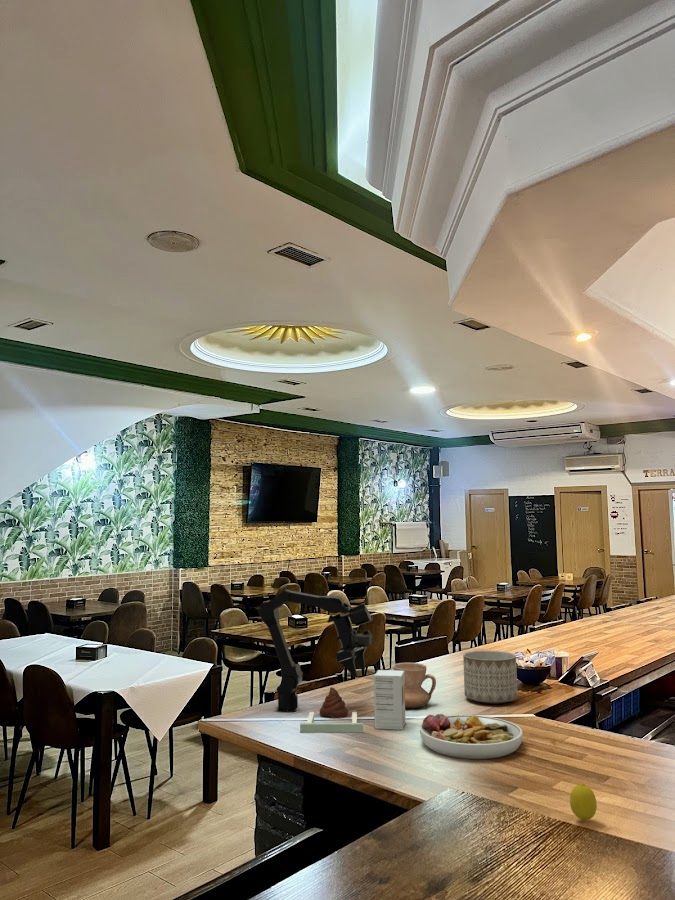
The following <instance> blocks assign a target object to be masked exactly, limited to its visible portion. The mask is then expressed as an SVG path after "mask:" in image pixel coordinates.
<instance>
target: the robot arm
mask: <svg viewBox="0 0 675 900" xmlns="http://www.w3.org/2000/svg"><path fill="white" fill-rule="evenodd" d="M287 602H288V603H294V604H300V605H305V606H311V607H315V608H318V609H321V610H322V611H326V612H327V613H330V614H329V617H328V620H327V623H331V622H332V623H333V624H334V627H335V630H336V634H337V636H336V639H337V641H338V640H339V642H340V644H341V647H340V650H339V651H338V652H337V653H336V654H335V656H334V657H335V660H336V662H337V663H339V664H341V665H342V666H343V667H344V668H345V669H346V670H347V671H348V672H349V673H350V674H351V676H353V678H357V677H358V673H357V668H356V664H357V665H358V667H359V668H360V669H361V671H365V670H366V662H365V652H366V650H367V648H368V647H369V646H370V645H372V643H373V638H374V636H373V634H372V633H371V631H370V630H369V629H368V630H367V629H365V630H364V631H363V632H361V633H358V632H357V630H356V629H354V628H353V625H355V627H360V626H361V625H365V624H367V623H371V622H372V616H371V613H370V611H369V609H368V607H367V606H366V604H365V602H363V603H361V604H359V605H356V606H353V607H352V606H350V605H349V604H347V602H345V600H344V599H343V597H342V596H340V595H316V594H311V593H305V592H301V591H295V590H290V589H285V590H282V591H281V592H280V593H279V594H277V595H276V596H275V597H273V598H272V599H268V600H266V601H262V603H261V604H259V606H258V608H257V609H258V610H257V611H258V615H259V616H260V618H261V620H262V622H263V623H264V624H265V626H266V627H267V629H268V631H269V635H270V637H271V640H272V642H273V646H274V649H275V651H276V654H277V658H278V660H279V663H280V671H281V673H280V674H281V679H282V682H281V683H280V684H279V685H278V686H277V687H276V691H277V692H276V693H277V709H276V711H277V712H296V711H297V709H298V706H299V697H298V696H299V695H298V694H297V687H298V686H299V685H300V684H301V682H302V681H303V674H304V672H303V670H302V669H301V664H300V662H298V663H297V664H296V663H295V661H293V658H292V655H291V653H290V649H289V646H288V644H287V641H286V637H285V635H284V633H283V629H282V627H281V624H280V611H279V608H281V607H282V606H283V605H285V604H286V603H287ZM334 614H335V615H334Z"/></svg>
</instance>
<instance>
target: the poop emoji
mask: <svg viewBox="0 0 675 900" xmlns="http://www.w3.org/2000/svg"><path fill="white" fill-rule="evenodd" d="M348 710H349V709H348V708H347V707H346V702H345V700H344V698H343V697H341V696H340V694H339V692H338V690H337V689H335V688H334V687H332V686H330V687H329V692H328V695H326V696H325V698H324V701H323V702H322V706H321V707H320V709H319V714H320V716H322V717H323V718H324V717H325V718H328V717H331V718H335V719H342V718H345V717H347V716H348V714H349V711H348Z"/></svg>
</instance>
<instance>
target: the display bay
mask: <svg viewBox="0 0 675 900" xmlns="http://www.w3.org/2000/svg"><path fill="white" fill-rule="evenodd" d="M357 713H358V712H357V711H352V712H351V715H352V716H351V722H315V712H314V711H309V714H308V716H307V721H306V722H300V724H299V729H300V730H299V732H300V734H301V733H303V734H304V733H305V734H306V733H310V734H311V733H323V734H324V733H331V734H332V733H335V734H336V733H364V722H358V719H357V718H358V714H357Z"/></svg>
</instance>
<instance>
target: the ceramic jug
mask: <svg viewBox="0 0 675 900" xmlns="http://www.w3.org/2000/svg"><path fill="white" fill-rule="evenodd" d="M392 669H393V670H397V671H404V679H405V709H417V708H421V707H424V706H426V705H427V704H429V703H430V702H431V701H430V700H431V699H432V696H433V695H432V694H433V693H434V691H435V689H436V686H437V680H436V677H435V676H434V675H433V674H431V673H428V674H427V665H426V664H424V663H419V662H399V663H394V664H393V667H392ZM428 679H431V682H432V683H431V688H430V690H429V692H428V691H427V690H425V689H424V688H423V687H422V685H423V682H425V681H426V680H428Z"/></svg>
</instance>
